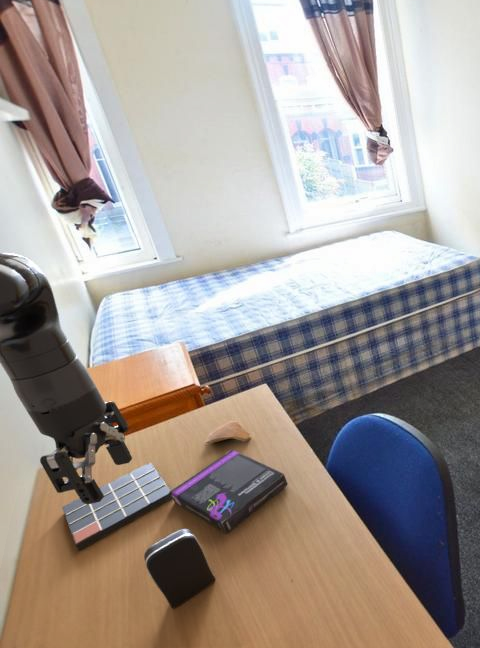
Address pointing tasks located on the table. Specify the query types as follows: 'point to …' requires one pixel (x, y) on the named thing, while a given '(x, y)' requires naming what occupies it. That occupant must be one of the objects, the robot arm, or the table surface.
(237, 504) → the box
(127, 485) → the board
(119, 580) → the table surface
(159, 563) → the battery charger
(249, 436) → the pottery shard
